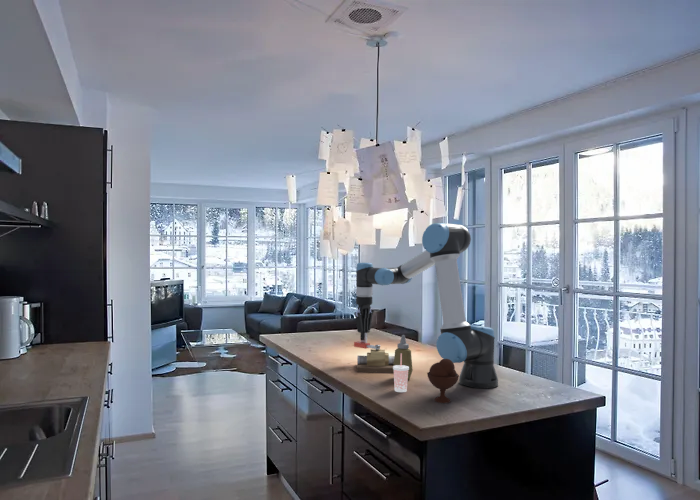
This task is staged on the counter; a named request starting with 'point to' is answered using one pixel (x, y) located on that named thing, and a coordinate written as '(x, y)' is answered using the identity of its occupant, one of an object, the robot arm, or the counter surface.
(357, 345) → the lever
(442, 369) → the ice cream bowl
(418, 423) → the counter surface
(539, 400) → the counter surface
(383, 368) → the valve board
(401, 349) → the squeeze bottle
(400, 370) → the beverage cup
